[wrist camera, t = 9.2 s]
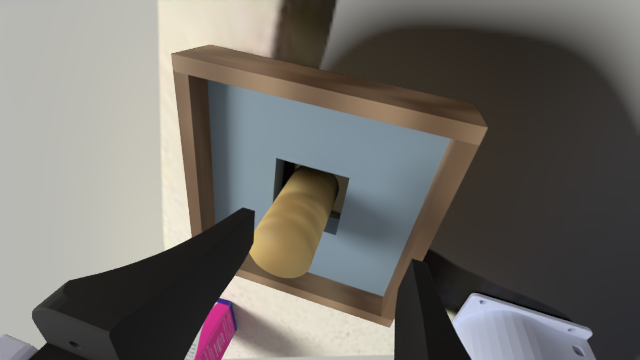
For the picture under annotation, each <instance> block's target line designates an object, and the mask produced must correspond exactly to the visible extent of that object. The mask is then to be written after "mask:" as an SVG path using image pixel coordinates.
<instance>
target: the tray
mask: <svg viewBox="0 0 640 360" xmlns="http://www.w3.org/2000/svg"><path fill="white" fill-rule="evenodd" d="M171 56H172V65H173V74H174V83H175V92H176V101H177V109H178V118H179V127H180V136H181V145H182V154H183V163H184V171H185V180H186V189H187V198H188V207H189V216H190V224H191V233H192V237H194V236H196V235H198V234H200V233H202V232H203V231H205V230H207V229H208V228H210V227H212V226H213V225H215V211H214V192H213V173H212V154H211V136H210V117H209V98H208V80H212V81H216V82H220V83H224V84H228V85H232V86H236V87H241V88H245V89H249V90H253V91H257V92H261V93H265V94H269V95H273V96H278V97H282V98H286V99H290V100H294V101H298V102H302V103H306V104H310V105H315V106H319V107H323V108H327V109H331V110H335V111H339V112H343V113H348V114H352V115H356V116H360V117H364V118H368V119H372V120H376V121H380V122H385V123H389V124H393V125H397V126H401V127H405V128H409V129H413V130H417V131H422V132H426V133H430V134H434V135H438V136H442V137H446V138H450V142H449V144H448V146H447V149H446V151H445V153H444V156H443V158H442V160H441V163H440V165H439V167H438V170H437V172H436V174H435V177H434V179H433V182H432V184H431V186H430V189H429V191H428V193H427V196H426V198H425V200H424V203H423V205H422V207H421V210H420V212H419V214H418V217H417V219H416V221H415V224H414V226H413V228H412V231H411V233H410V235H409V238H408V240H407V242H406V245H405V247H404V249H403V252H402V254H401V256H400V259H399V261H398V263H397V266H396V268H395V270H394V273H393V275H392V277H391V280H390V282H389V284H388V287H387V289H386V291H385V294H384V296H380V295H377V294H374V293H371V292H367V291H364V290H361V289H358V288H355V287H352V286H349V285H346V284H343V283H340V282H337V281H334V280H331V279H327V278H324V277H321V276H318V275H315V274H312V273H309V272H306V273H305V274H304V275H302V276H300V277H296V278H282V277H278V276H275V275H272V274H270V273H268V272H267V271H265V270H263V269H262V268H261V267H260V266H258V265H257V264H256V262H255V261H254V260H253V258H252V257H251V255H250V253H248V255H247V257H246V259H245V261H244V262H243V264H242V265H241V267H240V268H239V270H238V271H237V273H236V274H235V275H236V276H239V277H242V278H244V279H247V280H250V281H253V282H256V283H259V284H262V285H265V286H268V287H271V288H274V289H277V290H280V291H283V292H286V293H289V294H292V295H295V296H298V297H301V298H304V299H306V300H309V301H312V302H315V303H318V304H321V305H324V306H327V307H330V308H333V309H336V310H339V311H342V312H345V313H348V314H351V315H354V316H357V317H360V318H363V319H366V320H369V321H371V322H374V323H377V324H380V325H383V326H386V327H389V328H390V326H391V324H392V322H393V320H394V318H395V308H396V300H397V293H398V288H399V286H400V284H401V281H402V279H403V277H404V275H405V273H406V271H407V268H408V266H409V264H410V262H411V260H412V259H416V260H419V261H423V259H424V257H425V255H426V253H427V251H428V249H429V247H430V245H431V243H432V241H433V239H434V237H435V235H436V233H437V231H438V228H439V227H440V224H441V222H442V221H443V218H444V216H445V214H446V212H447V210H448V208H449V206H450V204H451V202H452V200H453V198H454V196H455V194H456V192H457V190H458V188H459V186H460V184H461V182H462V180H463V178H464V176H465V174H466V172H467V170H468V168H469V166H470V164H471V162H472V159H473V158H474V156H475V154H476V151H477V149H478V147H479V145H480V143H481V141H482V139H483V137H484V135H485V133H486V131H487V129H488V127H487V125H486V123H485V121H484V120H483V118H482V116H481V114H480V112H479V111H478V109H477V107H476V105H475V104H471V103H466V102H462V101H458V100H453V99H449V98H444V97H440V96H436V95H431V94H426V93H422V92H418V91H413V90H409V89H404V88H400V87H396V86H391V85H387V84H382V83H377V82H373V81H369V80H364V79H360V78H355V77H351V76H347V75H342V74H338V73H333V72H329V71H324V70H320V69H316V68H311V67H307V66H302V65H298V64H293V63H289V62H284V61H280V60H276V59H271V58H267V57H262V56H258V55H253V54H249V53H244V52H240V51H236V50H231V49H227V48H222V47H218V46H213V45H206V46H202V47H197V48H193V49H189V50H185V51H181V52H176V53H172V54H171Z"/></svg>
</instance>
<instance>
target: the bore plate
mask: <svg viewBox="0 0 640 360" xmlns="http://www.w3.org/2000/svg"><path fill="white" fill-rule="evenodd" d="M208 98H209V117H210V136H211V154H212V173H213V192H214V211H215V224H217V223H218V222H220V221H221V220H223V219H225V218H226V217H228V216H229V215H231V214H233V213H234V212H236V211H237V210H239V209H241V208H242V207H244V208H247V209H251V210H254V211H255V225H254V231H255V229H256V228H257V226H258V225H259V223H260V222H261V220H262V219H263V217H264V216H265V214H266V213H267V211H268V210H269V208H270V207H271V205H272V204H273V202H274V201H275V199H276V198H277V197H278V195H279V194H280V192H281V191H282V182H283V172H284V162H285V161H289V162H293V163H296V164H300V165H304V166H307V167H311V168H315V169H318V170H322V171H326V172H329V173H333V174H337V175H340V176H344V177H348V178H350V179H349V184H348V187H347V192H346V196H345V200H344V204H343V208H342V212H341V216H340V219H336V218H333V217H329V218H328V221H327V224H326V226H325V229H324V231H323V234H322V237H321V239H320V242H319V245H318V247H317V250H316V252H315V255H314V258H313V260H312V263H311V266H310V268H309V270H308V271H307V272H309V273H312V274H315V275H318V276H321V277H324V278H327V279H331V280H334V281H337V282H340V283H343V284H346V285H349V286H352V287H355V288H358V289H361V290H364V291H367V292H371V293H374V294H377V295H380V296H384V294H385V291H386V289H387V287H388V284H389V282H390V280H391V277H392V275H393V273H394V270H395V268H396V266H397V263H398V261H399V259H400V256H401V254H402V252H403V249H404V247H405V245H406V242H407V240H408V238H409V235H410V233H411V231H412V228H413V226H414V224H415V221H416V219H417V217H418V214H419V212H420V210H421V207H422V205H423V203H424V200H425V198H426V196H427V193H428V191H429V189H430V186H431V184H432V182H433V179H434V177H435V174H436V172H437V170H438V167H439V165H440V163H441V160H442V158H443V156H444V153H445V151H446V149H447V146H448V144H449V142H450V138H446V137H442V136H438V135H434V134H430V133H426V132H422V131H417V130H413V129H409V128H405V127H401V126H397V125H393V124H389V123H385V122H380V121H376V120H372V119H368V118H364V117H360V116H356V115H352V114H348V113H343V112H339V111H335V110H331V109H327V108H323V107H319V106H315V105H310V104H306V103H302V102H298V101H294V100H290V99H286V98H282V97H278V96H273V95H269V94H265V93H261V92H257V91H253V90H249V89H245V88H241V87H236V86H232V85H228V84H224V83H220V82H216V81H212V80H208ZM249 253H250V252H249Z"/></svg>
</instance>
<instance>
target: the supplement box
mask: <svg viewBox="0 0 640 360" xmlns="http://www.w3.org/2000/svg"><path fill="white" fill-rule="evenodd" d="M236 330H237V328H236V324H235V319H234V314H233V309H232V304H231V302H230V301H226V300H222V299H218V300H217V302H216V303H215V305H214V306H213V308H212V309H211V311H210V313H209V315H208V316H207V318H206V320H205V322H204V324H203V325H202V327H201V329H200V331H199V333H198V335H197V336H196V338H195V340H194V342H193V344H192V346H191V348H190V350H189V351H188V353H187V355H186V357H185V359H184V360H221V359H222V357H223V355H224V353H225V351H226V349H227V347H228V345H229V343H230V341H231V339H232V337H233V336H234V334H235V332H236Z"/></svg>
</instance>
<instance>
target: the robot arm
mask: <svg viewBox="0 0 640 360" xmlns="http://www.w3.org/2000/svg"><path fill="white" fill-rule="evenodd" d="M254 225H255V211H254V210H251V209H247V208H244V207H242V208H241V209H239V210H237V211H236V212H234V213H233V214H231V215H229V216H228V217H226V218H225V219H223V220H221V221H220V222H218V223H217V224H215V225H213V226H212V227H210V228H208V229H207V230H205V231H203V232H202V233H200V234H198V235H196V236H194V237H192V238H190V239H189V240H187V241H185V242H183V243H181V244H179V245H177V246H175V247H173V248H171V249H168V250H166V251H164V252H161V253H159V254H157V255H154V256H152V257H149V258H146V259H143V260H141V261H138V262H135V263H132V264H129V265H126V266H123V267H120V268H117V269H113V270H110V271H106V272H103V273H99V274H95V275H91V276H86V277H82V278H78V279H74V280H69V281H68V282H66V283H65V284H64V285H63V286H61V287H60V288H59V289H58V290H56V291H55V292H54V293H53V294H51V295H50V296H49V297H48V298H47V299H45V300H44V301H43V302H42V303H41V304H39V305H38V306H37V307H36V308H35V309H34V310H33V311H32V319H33V321H34V323H35V324H36V326H37V328H38V329H39V331H40V332H41V334H42V335H43V337H44V338H45V340H46V341H47V343H46V344H45V345H44V346H43V347H42V348H41V349H40V350H37V349H36V348H35V347H34V346H32V345H30V344H28V343H25V342H23V341H21V340H18V339H16V338H14V337H11V336H8V335H2V336H1V337H0V360H184V359H185V357H186V355H187V353H188V351H189V350H190V348H191V346H192V344H193V342H194V340H195V338H196V336H197V335H198V333H199V331H200V329H201V327H202V325H203V324H204V322H205V320H206V318H207V316H208V315H209V313H210V311H211V309H212V308H213V306H214V305H215V303H216V302H217V300H218V299H219V297H220V296H221V294H222V293H223V291H224V290H225V289H226V287H227V286H228V284H229V283H230V281H231V280H232V279H233V277H234V276H235V274H236V273H237V271H238V270H239V268H240V267H241V265H242V264H243V262H244V261H245V259H246V257H247V255H248V253H249V251H250V249H251V247H252V245H253V243H254ZM481 300H483V301H481ZM591 336H592V331H591V330H590V328H588V327H585V326H582V325H578V324H575V323H572V322H569V321H566V320H562V319H559V318H556V317H553V316H550V315H546V314H543V313H540V312H537V311H533V310H530V309H527V308H524V307H521V306H517V305H514V304H511V303H508V302H504V301H501V300H498V299H495V298H491V297H488V296H485V295H482V294H479V293H473V294H471V295H470V296H469V298H468V299H467V300H466V302H465V303H464V305H463V306H462V308H461V309H460V311H459V312H458V314H457V315H456V317H455V318H454V320H453V321H452V322H451V320H450V318H449V316H448V314H447V312H446V310H445V307H444V305H443V303H442V301H441V298H440V296H439V293H438V291H437V288H436V286H435V283H434V281H433V278H432V275H431V272H430V269H429V267H428V264H427V263H426V262H422V261H419V260H416V259H412V260H411V262H410V264H409V266H408V268H407V271H406V273H405V275H404V277H403V279H402V281H401V284H400V286H399V288H398V293H397V300H396V308H395V349H394V360H596V358H595V356H594V354H593V352H592V350H591V348H590V346H589V344H588V342H587V339H589V338H590V337H591Z"/></svg>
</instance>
